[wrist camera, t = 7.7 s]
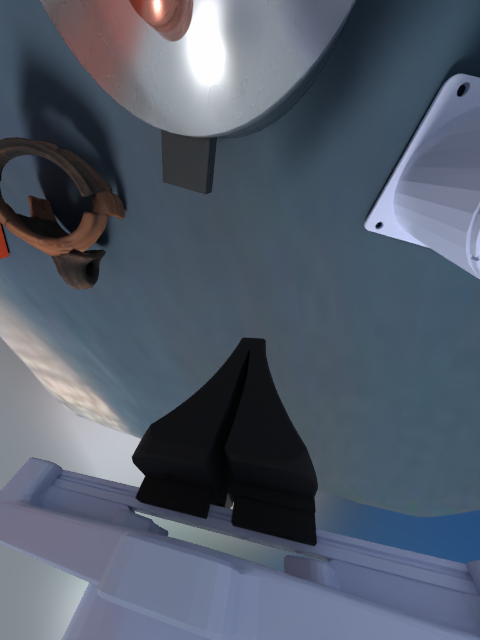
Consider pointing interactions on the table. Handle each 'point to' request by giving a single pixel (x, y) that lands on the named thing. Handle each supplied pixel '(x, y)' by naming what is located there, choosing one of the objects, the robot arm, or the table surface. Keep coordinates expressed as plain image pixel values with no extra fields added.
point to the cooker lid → (199, 55)
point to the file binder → (3, 245)
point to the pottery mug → (43, 227)
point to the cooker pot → (199, 153)
